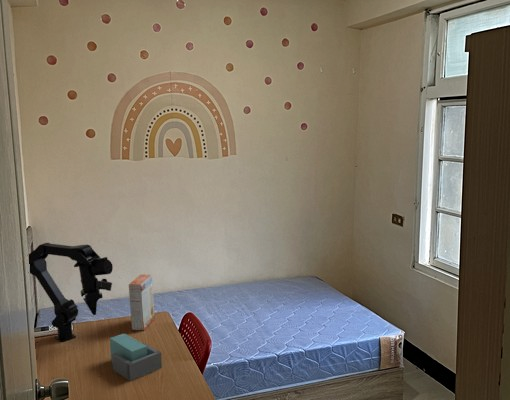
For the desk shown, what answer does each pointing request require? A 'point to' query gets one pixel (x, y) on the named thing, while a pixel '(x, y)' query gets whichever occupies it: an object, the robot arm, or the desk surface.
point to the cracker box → (141, 302)
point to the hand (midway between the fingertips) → (94, 314)
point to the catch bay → (137, 364)
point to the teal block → (127, 347)
